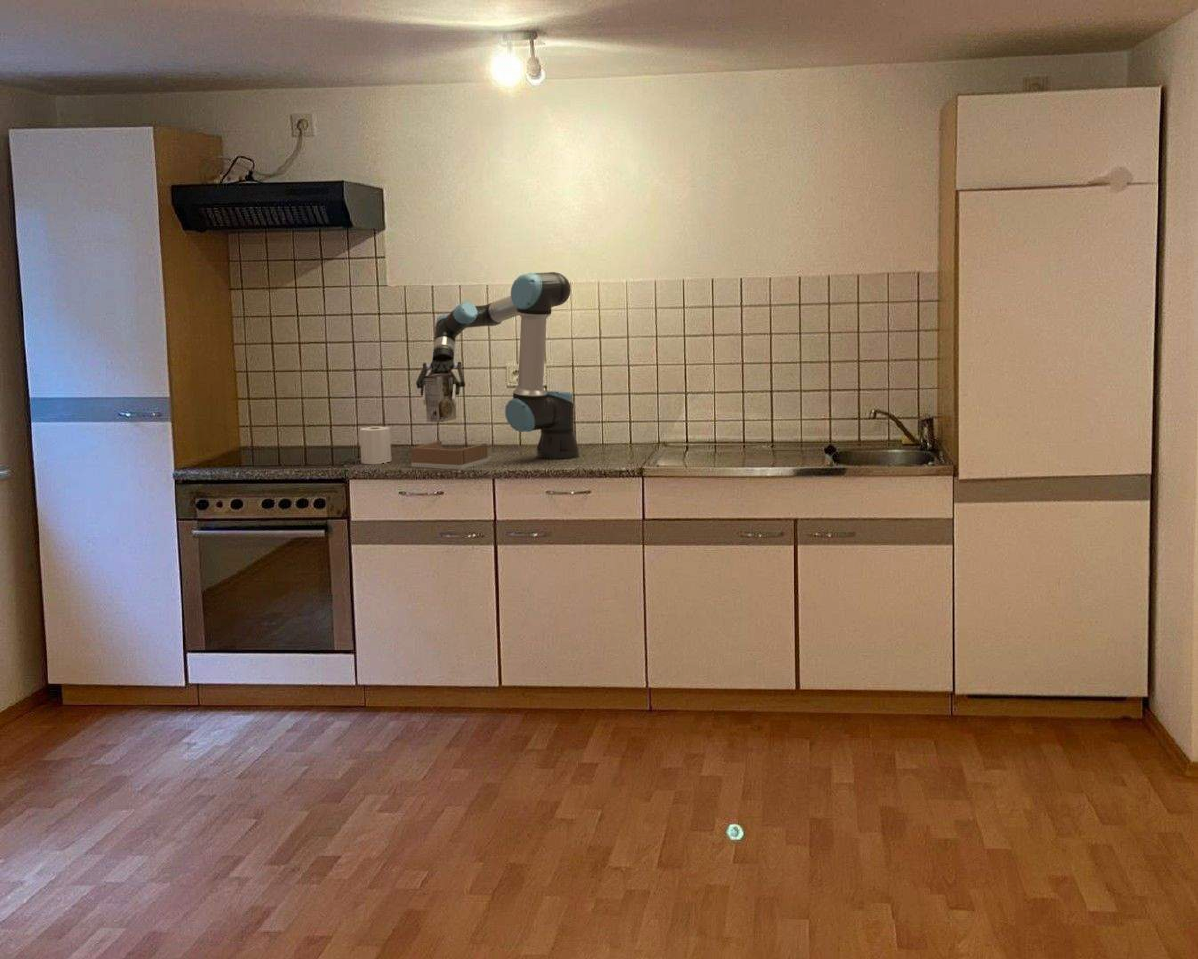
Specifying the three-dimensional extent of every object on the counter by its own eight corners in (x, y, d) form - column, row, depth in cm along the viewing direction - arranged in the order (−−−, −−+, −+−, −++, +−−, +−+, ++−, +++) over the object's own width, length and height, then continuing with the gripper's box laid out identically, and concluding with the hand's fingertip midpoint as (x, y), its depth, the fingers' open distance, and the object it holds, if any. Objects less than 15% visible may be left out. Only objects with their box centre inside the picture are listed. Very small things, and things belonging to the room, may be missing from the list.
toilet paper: (397, 461, 514) (395, 427, 512) (372, 465, 507) (370, 430, 505) (380, 459, 521) (378, 425, 519) (355, 462, 514) (354, 428, 512)
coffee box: (443, 418, 519) (440, 373, 517) (457, 419, 516) (454, 373, 513) (425, 421, 512) (423, 375, 510) (439, 422, 508) (436, 376, 506)
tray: (488, 461, 508) (488, 443, 507) (461, 469, 493) (460, 450, 492) (440, 459, 517) (439, 440, 516) (411, 466, 501) (410, 448, 500)
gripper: (476, 358, 525) (472, 407, 512) (414, 360, 526) (409, 409, 513) (473, 344, 519) (469, 393, 506) (410, 346, 520) (405, 396, 507)
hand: (439, 401), depth 510 cm, fingers closed on coffee box, 10 cm apart
